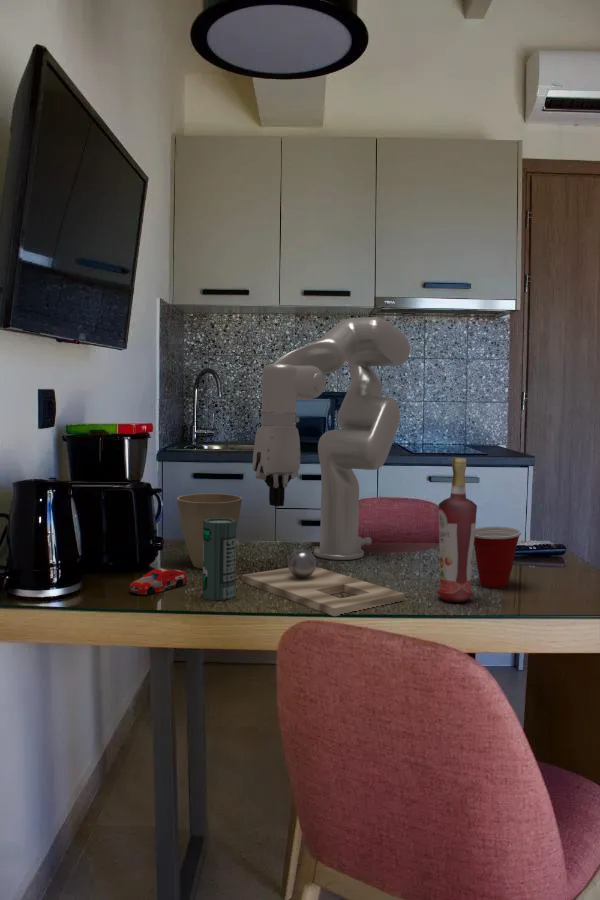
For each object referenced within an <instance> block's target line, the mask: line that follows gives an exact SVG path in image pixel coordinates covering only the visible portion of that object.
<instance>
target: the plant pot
mask: <svg viewBox="0 0 600 900" xmlns="http://www.w3.org/2000/svg"><path fill="white" fill-rule="evenodd" d="M176 501H177V509H178V515H179V522H180V526H181V532H182V536H183V538H184V542H185V546H186V549H187V552H188V555H189V558H190V561H191V562H192V565H193V567H195V568H197V569H202V570H203V521H204V520H206V519H210V518H211V519H213V518H228V519H233V520H236V530H237V529H238V526H239V525H238V524H239V519H240V515H241V508H242V501H243V497H242V496H239V495H235V494H229V493H228V494H227V493H194V494H193V493H192V494H184V495H179V496H178V497H176Z"/></svg>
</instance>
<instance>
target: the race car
mask: <svg viewBox="0 0 600 900" xmlns="http://www.w3.org/2000/svg"><path fill="white" fill-rule="evenodd" d="M187 583H188V576H187V573H186V572H185V571H184V570H180V569H172V568H167V567H163V568H162V567H161V568H155V569H153V570H151V571H149V572H147V573H146V574H143V575H142V577H140V578H137V579H135V580H133V581H132V582H131V583H130V584H129V592H130V593H132V594H136V595H146V596H152V595H155V594H156V593H161V592H163V591H169V590H172V589H178V588H181V587H183V586H185V585H187Z"/></svg>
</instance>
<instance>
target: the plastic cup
mask: <svg viewBox="0 0 600 900" xmlns="http://www.w3.org/2000/svg"><path fill="white" fill-rule="evenodd" d="M521 534H522V531H521V530H520V529H518V528H514V527H508V526H497V525H496V526H481V527H475V538H474V547H473V548H474V554H475V560H476V567H477V568H476V569H477V572H478V579H479V585H481V586H483V587H484V588H488V589H489V588H491V589H504V588H507V587H508V584H509V582H510V578H511V572H512V569H513V566H514V560H515V555H516V550H517V546H518V542H519V538H520V536H521Z"/></svg>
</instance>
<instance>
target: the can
mask: <svg viewBox="0 0 600 900" xmlns="http://www.w3.org/2000/svg"><path fill="white" fill-rule="evenodd" d="M236 571H237V529H236V520H233V519H228V518H213V519H211V518H210V519H206V520H204V521H203V569H202V598H203V599H205V600H207V599H209V600H208V601H213V600H214V601H216V600H222V601H224V600H225V601H227V600H226V599H230V600H232V599H235V598H236V587H237V586H236V585H237V584H236V583H237V581H236V580H237V579H236V578H237V577H236V575H237V572H236ZM234 597H235V598H234ZM231 598H232V599H231Z"/></svg>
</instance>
